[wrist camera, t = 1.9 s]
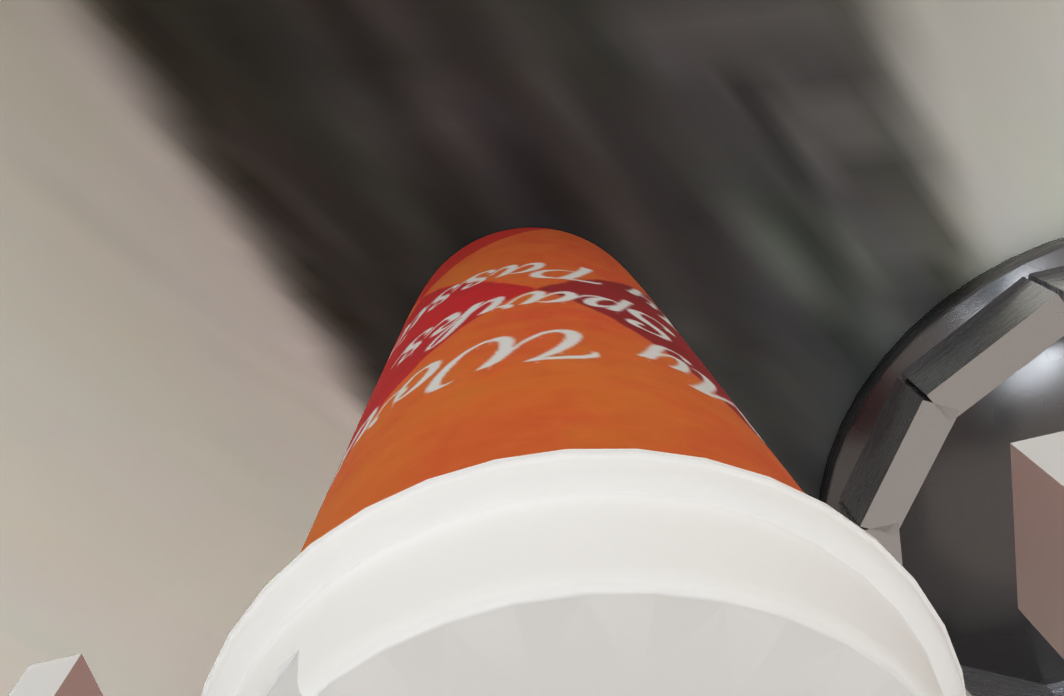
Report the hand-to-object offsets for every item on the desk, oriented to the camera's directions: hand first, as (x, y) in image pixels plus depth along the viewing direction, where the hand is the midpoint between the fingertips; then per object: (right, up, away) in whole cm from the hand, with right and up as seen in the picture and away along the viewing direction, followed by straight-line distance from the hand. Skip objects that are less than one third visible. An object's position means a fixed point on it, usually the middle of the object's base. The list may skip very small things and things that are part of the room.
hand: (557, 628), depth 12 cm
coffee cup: (0, +4, +10) cm, 11 cm away
